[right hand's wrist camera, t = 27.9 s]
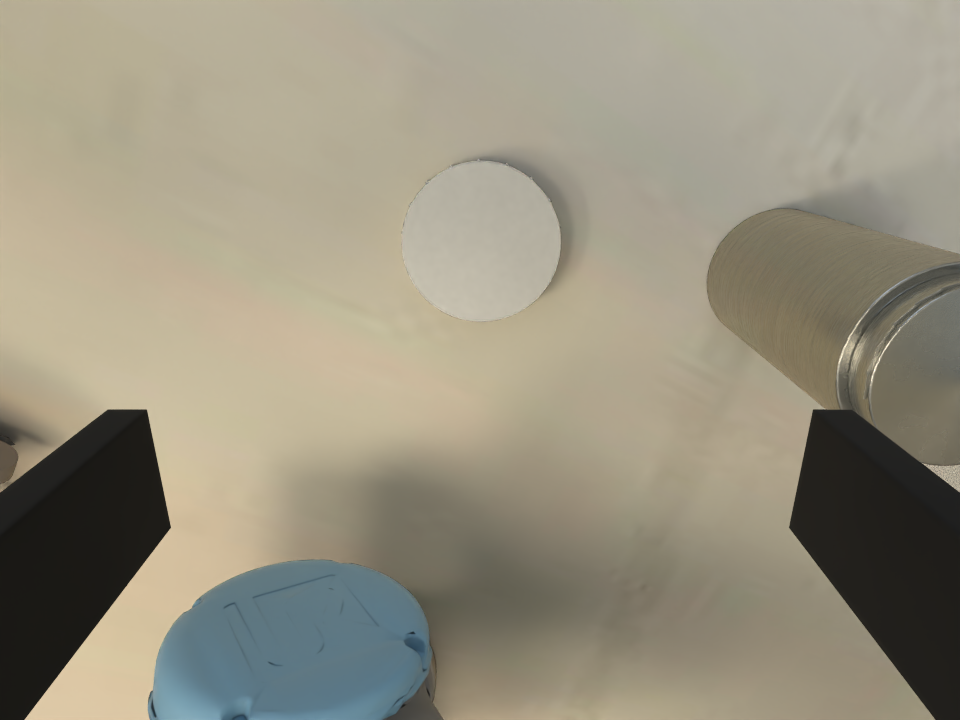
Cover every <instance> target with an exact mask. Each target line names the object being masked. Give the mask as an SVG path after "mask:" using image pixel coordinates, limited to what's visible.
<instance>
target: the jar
mask: <svg viewBox="0 0 960 720" xmlns="http://www.w3.org/2000/svg"><path fill="white" fill-rule="evenodd" d="M707 292H708V297H709V301H710V304H711V307H712V309H713V311H714V313H715V314H716V316H717V317H718V319H719V320H720V321H721V322H722V323H723V324H724V325H725V326H726V327H727V328H729V329H730V330H731V331H732V332H733V333H735V334H736V335H737V336H738V337H739V338H741V339H742V340H743V341H744V342H745V343H747V344H748V345H749V346H750V347H751V348H753V349H754V350H755V351H756V352H757V353H759V354H760V355H761V356H762V357H763V358H765V359H766V360H767V361H768V362H769V363H771V364H772V365H773V366H774V367H776V368H777V369H778V370H779V371H780V372H782V373H783V374H784V375H785V376H786V377H788V378H789V379H790V380H791V381H792V382H794V383H795V384H796V385H797V386H798V387H800V388H801V389H802V390H803V391H804V392H806V393H807V394H808V395H809V396H810V397H812V398H813V399H814V400H815V401H816V402H818V403H819V404H820V405H821V406H822V407H824V408H825V409H826V410H853V411H855V412H856V413H857V414H858V415H860V416H861V417H862V418H864V419H865V420H866V421H868V422H869V423H870V424H871V425H873V426H874V427H875V428H877V429H878V430H879V431H880V432H882V433H883V434H884V435H886V436H887V437H888V438H890V439H891V440H892V441H893V442H895V443H896V444H897V445H899V446H900V447H901V448H902V449H904V450H905V451H906V452H908V453H909V454H910V455H912V456H913V457H914V458H915V459H917V460H918V461H919V462H921V463H924V464H929V465H940V466H948V465H960V254H957V253H954V252H950V251H946V250H943V249H939V248H935V247H932V246H928V245H924V244H921V243H917V242H914V241H910V240H906V239H903V238H899V237H895V236H892V235H888V234H885V233H881V232H877V231H874V230H870V229H866V228H863V227H859V226H855V225H852V224H848V223H845V222H841V221H837V220H834V219H830V218H826V217H823V216H819V215H816V214H812V213H808V212H805V211H801V210H797V209H775V210H769V211H765V212H762V213H759V214H757V215H755V216H752V217H750V218H749V219H747V220H745V221H743V222H742V223H741V224H739V225H738V226H737V227H735V228H734V229H733V230H732V231H731V232H730V233H729V234H728V235H727V236H726V237H725V239H724V240H723V241H722V242H721V244H720V245H719V247H718V248H717V250H716V252H715V254H714V256H713V258H712V261H711V264H710V267H709V271H708V278H707Z"/></svg>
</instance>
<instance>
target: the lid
mask: <svg viewBox="0 0 960 720" xmlns="http://www.w3.org/2000/svg"><path fill="white" fill-rule="evenodd" d="M533 180H534V179H533V178H532V177H530V178H529V177H528V176H527V175H525V174H524V173H523V172H521V171H519V170H517V169H515V168H513V167H511V166H508V164H507V163H506V164H503V163H498V162H494V161H484V160H480V159H478V161H469V162H464V163H460V164H457V165H454V166H452V165H450V167H449V168H447V169H445V170H443V171H442V172H440V173H439V174H437V175H436V176H434V177H433V178H432V179H431V180H430V181H429V180H428V181H427V182H426V185H425V186H424V187H423V188H422V189H421V191H420V192H419V193H418V194H417V195H416V197H415V199H414V200H413V202H411V203H410V205H409V210H408V212H407V214H406V217H405V221H404V224H403V230H402V232H401V234H402V244H401V245H402V255H403V261H404V264H405V267H406V269H407V272H408V275H409V277H410V279H411V281H412V282H413V284H414V286H415V287H416V288H417V290H418V291H419V293H420V294H421V295H422V296H423V297H424V298H425V299H426V300H427V301H428V302H429V303H431V304H432V305H433V306H434V307H436V308H437V309H439V310H440V311H442V312H444V313H446V314H448V315H450V316H453V317H456V318H459V319H462V320H467V321H475V322H488V321H495V320H501V319H504V318H507V317H510V316H512V315H514V314H517V313H519V312H520V311H522V310H524V309H525V308H527V307H528V306H530V305H531V304H532V303H533V302H535V301H536V300H537V299H538V298H539V296H540V295H541V294H542V293H543V292H544V291H545V289H546V288H547V287H548V285H549V283H550V282H551V280H552V278H553V276H554V274H555V271H556V269H557V266H558V262H559V258H560V251H561V233H560V229H561V227H560V226H559V222H558V218H557V215H556V213H555V210H554V208H553V206H552V204H551V202H552V201H551V200H550V199H549V198H548V197H547V196H546V195H545V193H544V192H543V191H542V190H541V188H540V187H539V186H538V185H537V184H536V183H535V182H534V181H533Z"/></svg>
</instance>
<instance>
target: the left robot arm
mask: <svg viewBox="0 0 960 720" xmlns="http://www.w3.org/2000/svg"><path fill="white" fill-rule="evenodd" d="M429 640H430V637H429V627H428V622H427V619H426V616H425V614H424V612H423V610H422V608H421V606H420V604H419V603H418V601H417V600H416V599H415V597H414V596H413V595H412V594H411V593H410V592H409V591H408V590H407V589H406V588H405V587H403V586H402V585H401V584H399V583H398V582H397V581H395V580H394V579H392V578H390V577H389V576H387V575H385V574H383V573H381V572H378V571H376V570H373V569H370V568H367V567H364V566H361V565H357V564H353V563H351V564H347V563H338V562H334V561H332V560H298V561H289V562H283V563H278V564H273V565H268V566H264V567H261V568H257V569H254V570H251V571H248V572H245V573H243V574H240V575H238V576H235V577H233V578H231V579H229V580H227V581H225V582H223V583H221V584H219V585H218V586H216V587H214V588H213V589H211V590H209V591H208V592H206V593H205V594H204V595H202V596H201V597H200V598H199V599H198V600H197V601H196V602H195V603H194V605H193V606H192V609H190V610H189V611H187V612H184V613H183V614H182V615H181V616H180V617H179V618H178V619H177V620H176V621H175V622H174V624H173V625H172V627H171V628H170V630H169V631H168V633H167V635H166V636H165V638H164V640H163V642H162V645H161V647H160V649H159V653H158V656H157V660H156V666H155V674H154V686H153V691H151V692H150V696H149V700H148V713H149V718H150V720H443V718H442V717H441V715H440V713H439V712H438V710H437V709H436V707H435V706H434V704H433V699H434V692H435V681H436V663H435V658H434V654H433V651H432V648H431V646H430V644H429Z"/></svg>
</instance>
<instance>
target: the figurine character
mask: <svg viewBox="0 0 960 720" xmlns="http://www.w3.org/2000/svg"><path fill="white" fill-rule="evenodd" d="M10 445H15V444H14V443H13V442H12V441H11V440H10V439H9V438H8V437H5V436H2V435H0V484H1V483H4V482H6V481H8V480H9V479H10V478H11V477H12V475H13V472H14V469H15V466H16V464H17V461H18V454H17V452H16V450H15V449H14V448H13V447H11V446H10Z"/></svg>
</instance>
